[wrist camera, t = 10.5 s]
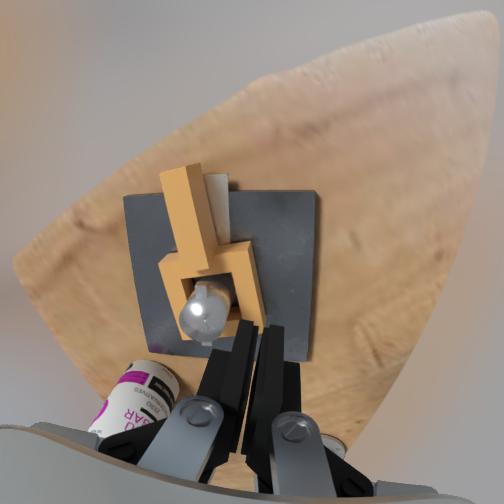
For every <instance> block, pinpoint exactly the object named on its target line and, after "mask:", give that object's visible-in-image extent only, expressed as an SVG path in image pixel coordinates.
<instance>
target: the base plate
mask: <svg viewBox="0 0 504 504" xmlns="http://www.w3.org/2000/svg"><path fill="white" fill-rule="evenodd" d="M203 179H204V183H205V188H206V193H207V197H208V202H209V206H210V211H211V215H212V220H213V224H214V229H215V233H216V238H217V242H218V246H220V245H226V244H233V243H239V242H246V241H251V244H252V249H253V254H254V259H255V264H256V269H257V274H258V279H259V284H260V289H261V294H262V299H263V304H264V309H265V314H266V326H265V327H267V328H269V326H270V324H273V325H279V326H284V361H307V352H308V340H309V327H310V312H311V297H312V279H313V258H314V231H315V191H314V190H228V174H209V175H203ZM123 200H124V210H125V219H126V227H127V235H128V242H129V249H130V256H131V262H132V269H133V275H134V281H135V286H136V292H137V297H138V303H139V308H140V313H141V318H142V322H143V327H144V332H145V336H146V341H147V345H148V349H149V352H152V353H161V354H170V355H180V356H191V357H203V358H209V357H210V354H211V351H212V349H213V348H214V349H219V350H224V351H230V352H231V351H232V347H233V343H234V339H235V336H232V337H220V336H221V334H222V332H223V329H224V326H225V323H226V320H227V317H228V314H229V311H230V308H231V307H240V306H239V302H238V297H237V293H236V289H235V284H234V280H233V276H232V272H229V273H222V274H214V275H207V276H200V277H192V278H191V279H192V282H193V286H194V291H193V292H192V294H191V296H190V297H189V299H188V301H187V302H186V304H185V306H184V307H183V309H182V311H181V312H180V315H179V324H180V327H181V329H182V331H183V332H184V333H185V334H186V335H187V336H188V337H189V338H191V339H193V340H182V337H181V334H180V331H179V328H178V325H177V322H176V320H175V317H174V313H173V310H172V307H171V304H170V301H169V298H168V295H167V292H166V288H165V285H164V282H163V279H162V275H161V272H160V269H159V265H158V263H159V262H160V261H161V260H162V259H163V258H164V257H165V256H166V255H167V254H170V253H176V252H178V249H177V246H176V242H175V238H174V234H173V230H172V226H171V222H170V218H169V214H168V210H167V206H166V202H165V197H164V193H150V194H134V195H126V196H124V197H123ZM219 337H220V338H219ZM261 337H262V334H258V337H257V344H256V351H255V357H254V361H257V356H258V352H259V347H260V342H261Z"/></svg>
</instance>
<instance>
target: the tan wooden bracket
mask: <svg viewBox="0 0 504 504" xmlns="http://www.w3.org/2000/svg"><path fill="white" fill-rule="evenodd" d="M159 175H160V180H161V184H162V189H163V193H164V197H165V202H166V206H167V210H168V214H169V218H170V222H171V226H172V230H173V234H174V238H175V242H176V246H177V249H178V252H176V253H170V254H167V255H166V256H165V257H164V258H163V259H162V260H161V261H160V262H159V263H158V265H159V269H160V272H161V275H162V279H163V282H164V285H165V288H166V292H167V295H168V298H169V301H170V304H171V307H172V310H173V313H174V317H175V320H176V322H177V325H178V328H179V331H180V334H181V337H182V340H193V339H191V338H189V337H188V336H187V335H186V334H185V333H184V332H183V331H182V329H181V327H180V324H179V315H180V312H181V311H182V309H183V307H184V306H185V304H186V302H187V301H188V299H189V297H190V296H191V294H192V292H193V291H194V286H193V282H192V279H191V278H192V277H200V276H207V275H214V274H222V273H229V272H232V276H233V280H234V284H235V289H236V293H237V297H238V302H239V306H240V307H231V308H230V311H229V314H228V317H227V320H226V323H225V326H224V329H223V332H222V334H221V336H220V337H232V336H235V335H236V332H237V328H238V324H239V320H240V319H244V320H250V321H254V325H256V326H259V331H258V334H262V332H263V328H264V327H265V326H266V314H265V309H264V304H263V299H262V294H261V289H260V284H259V279H258V274H257V269H256V264H255V259H254V254H253V249H252V244H251V241H246V242H239V243H233V244H226V245H220V246H218V242H217V238H216V233H215V229H214V224H213V220H212V215H211V211H210V206H209V202H208V197H207V193H206V188H205V183H204V179H203V174H202V169H201V164H200V163H198V164H193V165H189V166H185V167H180V168H176V169H172V170H168V171H164V172H161V173H159ZM220 337H219V338H220Z"/></svg>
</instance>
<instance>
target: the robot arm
mask: <svg viewBox="0 0 504 504" xmlns="http://www.w3.org/2000/svg"><path fill="white" fill-rule="evenodd" d="M258 331H259V326H256V325H254V321H250V320H244V319H240V320H239V324H238V328H237V332H236V335H235V339H234V343H233V347H232V351H231V352H230V351H224V350H219V349H214V348H213V349H212V351H211V354H210V357H209V360H208V363H207V366H206V369H205V372H204V375H203V377H202V380H201V383H200V386H199V389H198V392H197V395H196V396H189V397H186V398H184V399H182V400H180V401H179V402H178V404H177V405H176V406H175V408H174V409H173V411H172V412H171V414H170V415H169V417H167V418H164V419H161V420H158V421H155V422H152V423H149V424H146V425H143V426H140V427H136V428H133V429H130V430H127V431H123V432H120V433H117V434H113V435H111V436H108V437H106V438H102V437H99V436H98V434H96V433H91V432H86V431H81V430H76V429H72V428H67V427H63V426H59V425H55V424H51V423H46V422H39V423H35V424H34V425H32V426H31V427H25V426H18V425H0V504H475V503H473V502H472V501H470V500H468V499H465V498H462V497H457V496H452V495H446V494H438V492H437V491H436V490H435V489H433V488H432V487H428V486H422V485H411V484H402V483H393V482H386V481H380V480H378V481H377V482H376V483H373V482H371V481H370V480H369V479H368V478H367V477H366V476H364V475H363V474H362V473H360V472H359V471H357V470H356V469H355V468H353V467H352V466H351V465H349V464H348V463H347V462H345V461H344V460H343V459H344V457H345V448H344V445H343V444H342V443H341V441H339V440H338V439H336V438H334V437H331V436H328V435H324V434H320V430H319V427H318V425H317V423H316V422H315V421H314V420H313V419H312V418H311V417H309V416H308V415H306V414H303V413H301V381H300V364H299V363H295V362H288V361H284V326H279V325H273V324H270V326H269V328H267V327H264V328H263V332H262V337H261V342H260V347H259V352H258V356H257V361H256V366H255V371H254V375H253V380H252V385H251V392H250V398H249V405H248V411H247V417H246V424H245V430H244V436H243V443H242V449H241V454H243V455H247V456H246V462H245V463H247V465H248V466H249V467H250V468H251V469H252V470H253V471H254V472H255V475H254V483H255V492H248V491H241V490H235V489H229V488H223V487H218V486H213V485H209V484H210V482H211V479H212V477H213V475H214V473H215V469H216V467H217V466H219V465H221V464H224V463H226V462H228V457H229V452H231V453H236V450H237V446H238V441H239V437H240V432H241V428H242V424H243V419H244V415H245V410H246V406H247V401H248V395H249V389H250V383H251V377H252V370H253V364H254V357H255V351H256V344H257V337H258Z"/></svg>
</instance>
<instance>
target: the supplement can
mask: <svg viewBox="0 0 504 504" xmlns="http://www.w3.org/2000/svg"><path fill="white" fill-rule="evenodd" d="M179 391H180V389H179V383H178V381H177V380H176V378H175V376H174V375H173V374H172V373H171V372H170V371H169V370H168V369H167V368H166V367H164V366H162V365H161V364H159V363H156V362H153V361H148V360H138V361H135V362H132V363H131V364H130V365H129V366H128V367H127V369H126V370H125V372H124V374H123V375H122V377H121V378H120V380H119V381H118V383H117V384H116V386H115V388H114V389H113V391H112V392H111V394H110V395H109V397H108V399H107V400H106V402H105V403H104V405H103V407H102V408H101V410H100V411H99V413H98V415H97V416H96V418H95V419H94V421H93V423H92V424H91V426H90V428H89V429H88V432H91V433H96V434H98V436H99V437H102V438H106V437H108V436H111V435H113V434H117V433H120V432H123V431H127V430H130V429H133V428H136V427H140V426H143V425H146V424H149V423H152V422H155V421H158V420H161V419H164V418H167V417H169V415H170V414H171V411H172V409H173V406H174V404H175V401H176V399H177V397H178V394H179Z"/></svg>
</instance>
